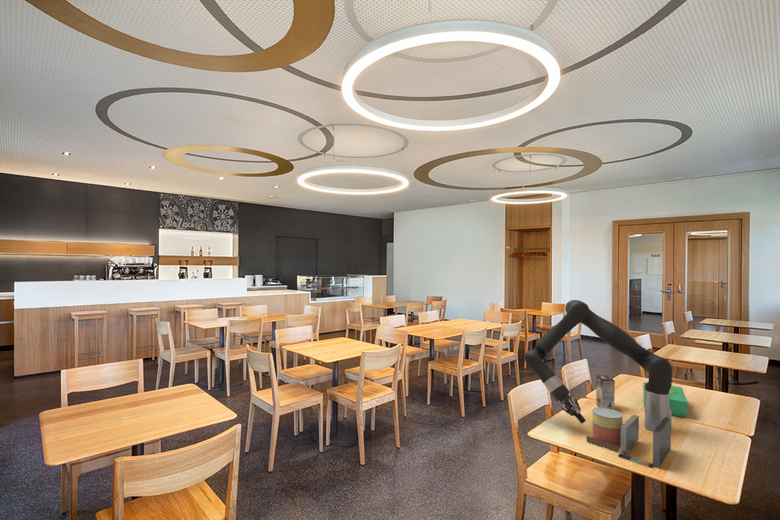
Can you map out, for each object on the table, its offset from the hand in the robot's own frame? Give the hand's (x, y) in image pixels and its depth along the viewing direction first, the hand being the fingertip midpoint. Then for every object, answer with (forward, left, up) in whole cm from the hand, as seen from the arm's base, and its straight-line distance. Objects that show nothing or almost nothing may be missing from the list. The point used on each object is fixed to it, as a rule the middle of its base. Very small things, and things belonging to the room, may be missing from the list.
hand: (583, 422), depth 170 cm
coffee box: (-26, -31, -5) cm, 41 cm away
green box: (-57, -31, -5) cm, 65 cm away
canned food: (-7, +7, -5) cm, 11 cm away
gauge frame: (-11, +13, -5) cm, 18 cm away
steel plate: (-12, +14, -4) cm, 18 cm away
